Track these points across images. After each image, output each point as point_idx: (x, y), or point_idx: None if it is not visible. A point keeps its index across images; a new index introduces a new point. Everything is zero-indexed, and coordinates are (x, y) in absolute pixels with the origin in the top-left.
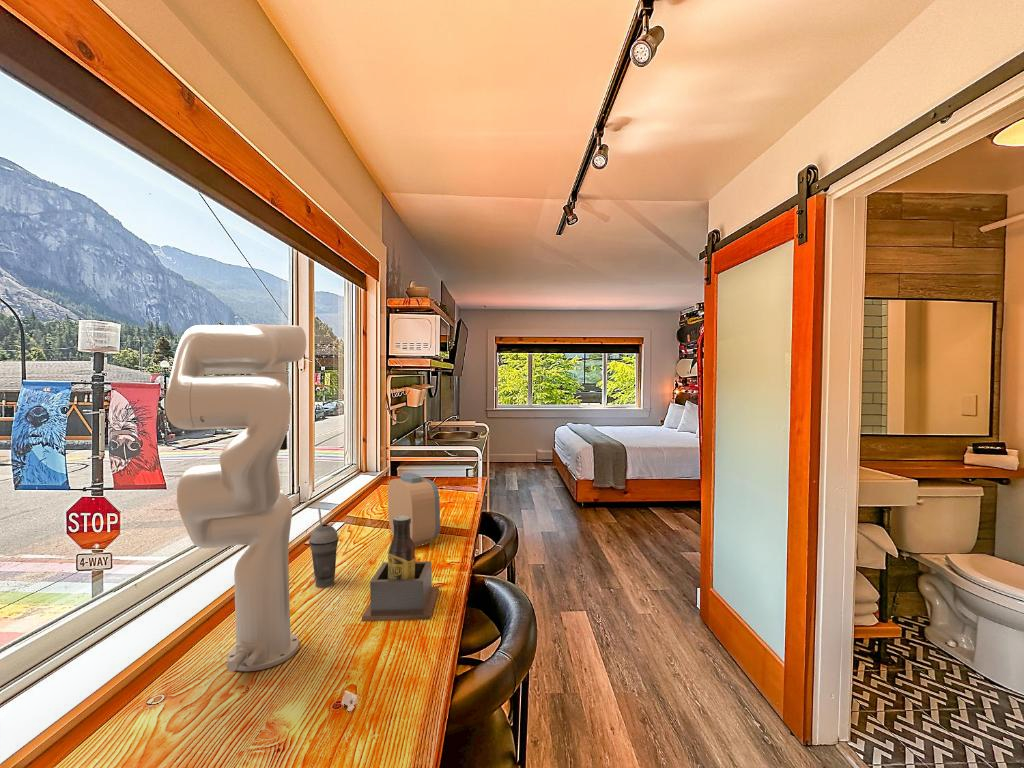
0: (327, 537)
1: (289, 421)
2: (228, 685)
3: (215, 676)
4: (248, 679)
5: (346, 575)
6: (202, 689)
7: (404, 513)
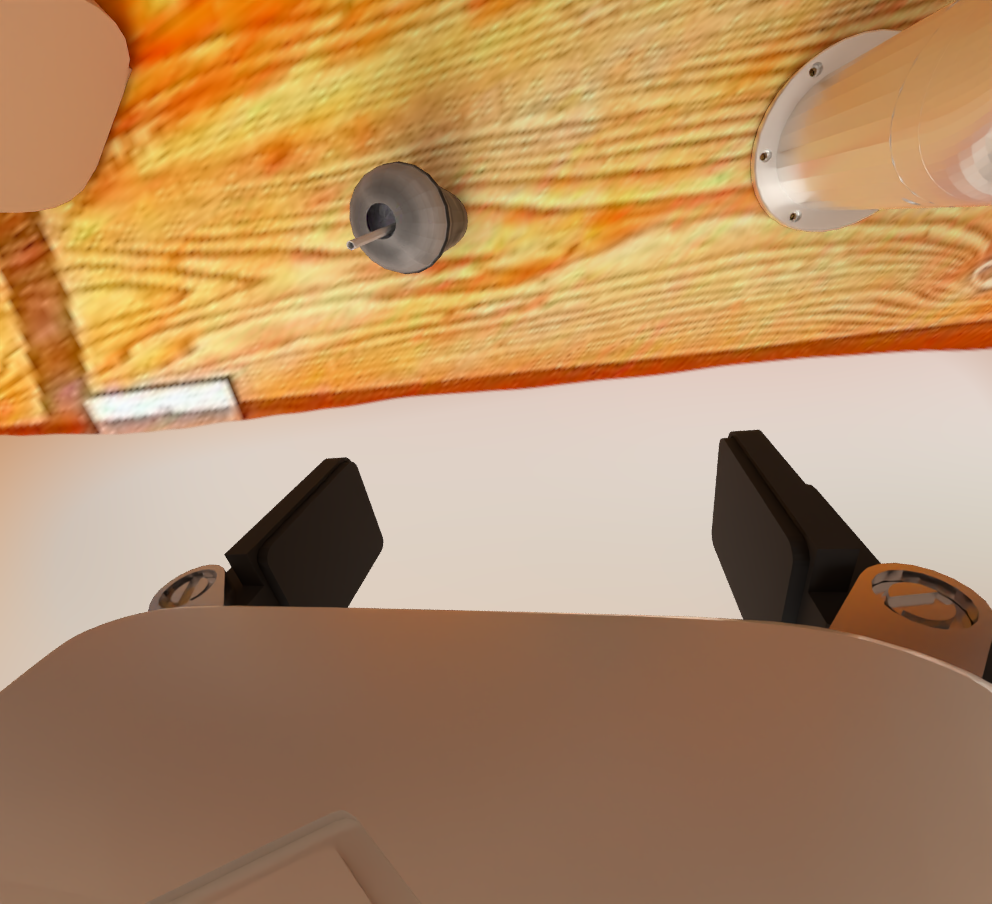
0: (422, 182)
1: (43, 665)
2: None
3: None
4: None
5: None
6: None
7: (5, 60)
